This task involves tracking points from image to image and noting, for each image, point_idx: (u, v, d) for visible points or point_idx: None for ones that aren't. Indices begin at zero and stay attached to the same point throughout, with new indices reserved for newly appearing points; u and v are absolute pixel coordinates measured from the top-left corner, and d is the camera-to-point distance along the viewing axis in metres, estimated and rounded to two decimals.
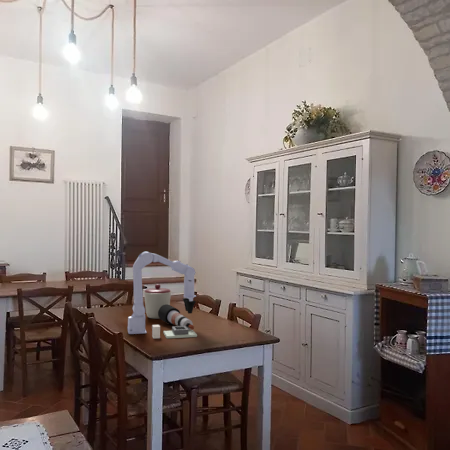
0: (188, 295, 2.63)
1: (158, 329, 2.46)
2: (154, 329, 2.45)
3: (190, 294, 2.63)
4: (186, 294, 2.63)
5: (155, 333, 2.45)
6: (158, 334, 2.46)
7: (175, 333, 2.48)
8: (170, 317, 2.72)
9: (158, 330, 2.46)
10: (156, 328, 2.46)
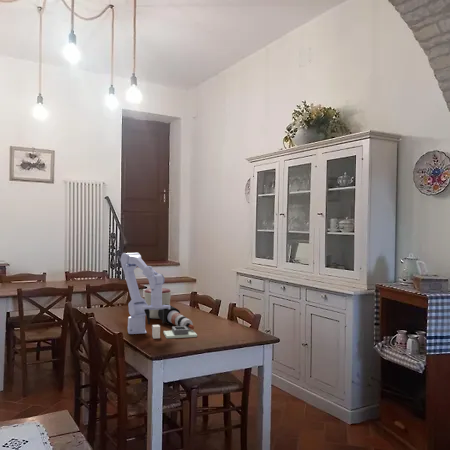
0: None
1: (158, 329, 2.46)
2: (154, 329, 2.45)
3: (151, 304, 2.47)
4: None
5: (155, 333, 2.45)
6: (158, 334, 2.46)
7: (175, 333, 2.48)
8: (170, 317, 2.72)
9: (158, 330, 2.46)
10: (156, 328, 2.46)
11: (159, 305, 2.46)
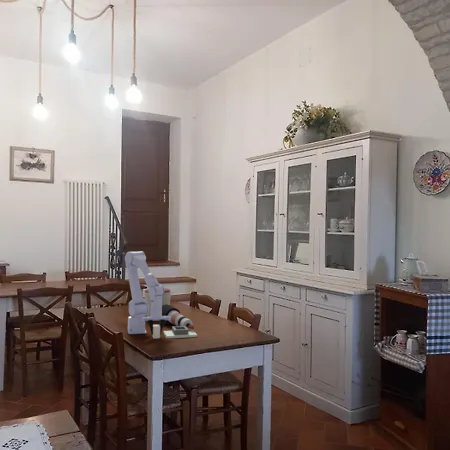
0: None
1: (158, 329, 2.46)
2: (154, 329, 2.45)
3: (151, 315, 2.47)
4: None
5: (155, 333, 2.46)
6: (158, 334, 2.46)
7: (175, 333, 2.48)
8: (170, 317, 2.72)
9: (158, 330, 2.46)
10: (156, 328, 2.46)
11: (159, 316, 2.46)
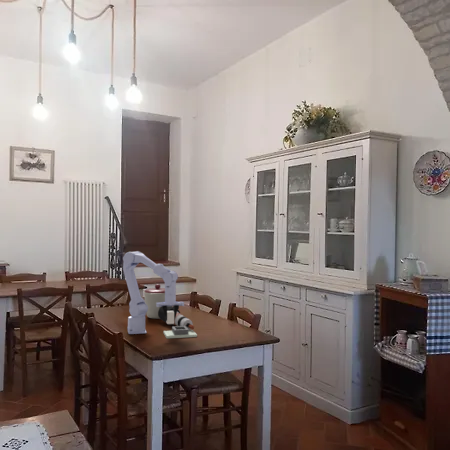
0: None
1: (172, 315, 2.49)
2: (168, 315, 2.48)
3: (165, 300, 2.50)
4: None
5: (169, 318, 2.48)
6: (172, 320, 2.49)
7: (175, 333, 2.48)
8: None
9: (172, 316, 2.49)
10: (170, 314, 2.48)
11: (173, 302, 2.49)
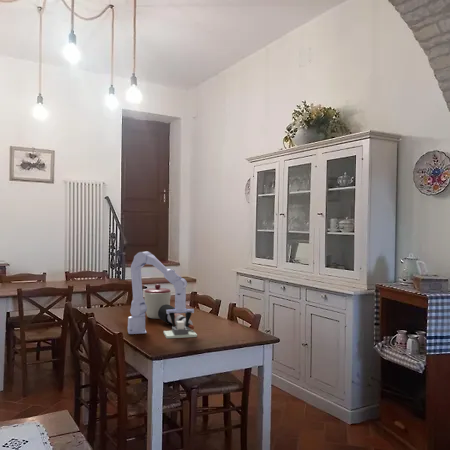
0: None
1: (182, 325, 2.51)
2: (178, 325, 2.51)
3: (175, 307, 2.52)
4: None
5: (179, 328, 2.51)
6: None
7: (175, 333, 2.48)
8: (170, 317, 2.72)
9: (182, 326, 2.51)
10: (180, 324, 2.51)
11: (183, 309, 2.51)
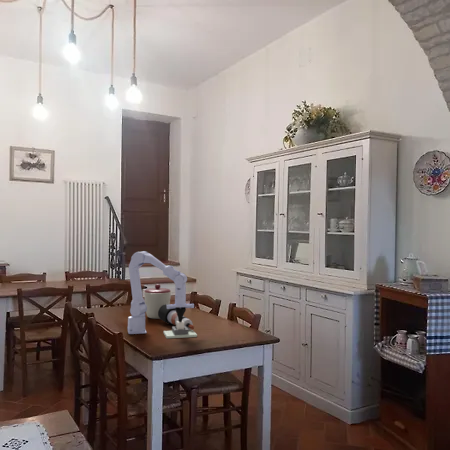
0: (175, 303, 2.53)
1: (182, 325, 2.51)
2: (178, 325, 2.51)
3: (175, 302, 2.52)
4: None
5: (179, 328, 2.51)
6: None
7: (175, 333, 2.48)
8: (170, 317, 2.72)
9: (182, 326, 2.51)
10: (180, 324, 2.51)
11: (183, 304, 2.51)
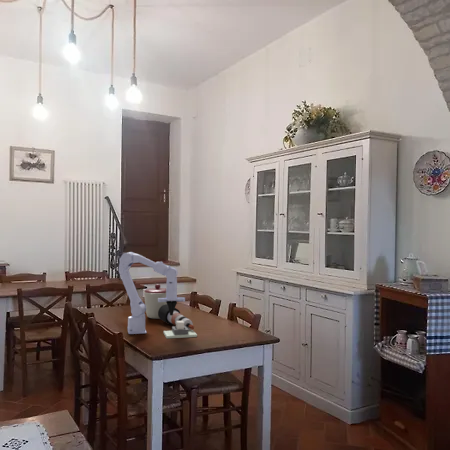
0: (166, 297, 2.57)
1: (182, 325, 2.51)
2: (178, 325, 2.50)
3: (166, 296, 2.56)
4: None
5: (179, 328, 2.51)
6: None
7: (175, 333, 2.48)
8: (170, 317, 2.72)
9: (182, 326, 2.51)
10: (180, 324, 2.51)
11: (174, 297, 2.55)
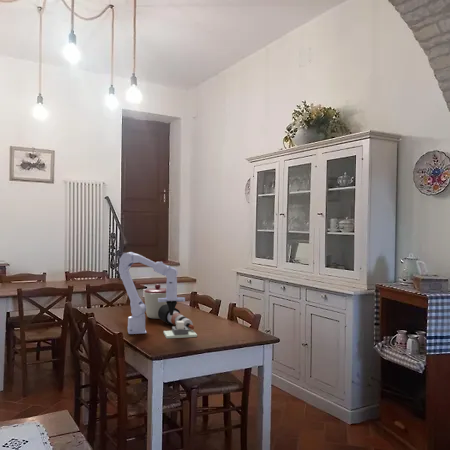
0: (166, 297, 2.57)
1: (182, 325, 2.51)
2: (178, 325, 2.50)
3: (166, 296, 2.56)
4: None
5: (179, 328, 2.51)
6: None
7: (175, 333, 2.48)
8: (170, 317, 2.72)
9: (182, 326, 2.51)
10: (180, 324, 2.51)
11: (174, 297, 2.55)
